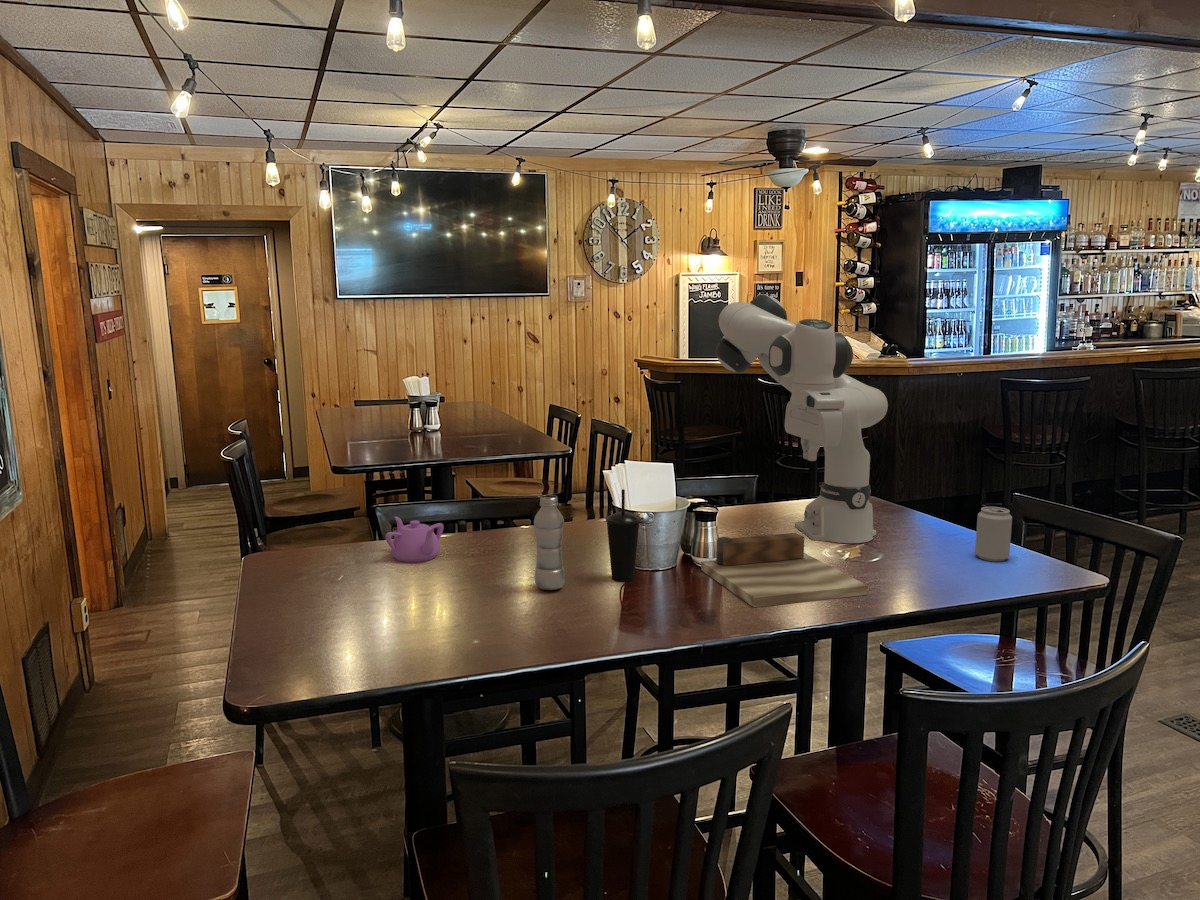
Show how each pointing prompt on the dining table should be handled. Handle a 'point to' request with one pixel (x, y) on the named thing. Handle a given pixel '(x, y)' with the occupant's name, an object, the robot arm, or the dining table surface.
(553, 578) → the plastic bottle
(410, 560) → the teapot
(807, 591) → the stool seat
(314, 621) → the dining table surface
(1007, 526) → the can
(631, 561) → the drinking cup
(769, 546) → the walnut leg
